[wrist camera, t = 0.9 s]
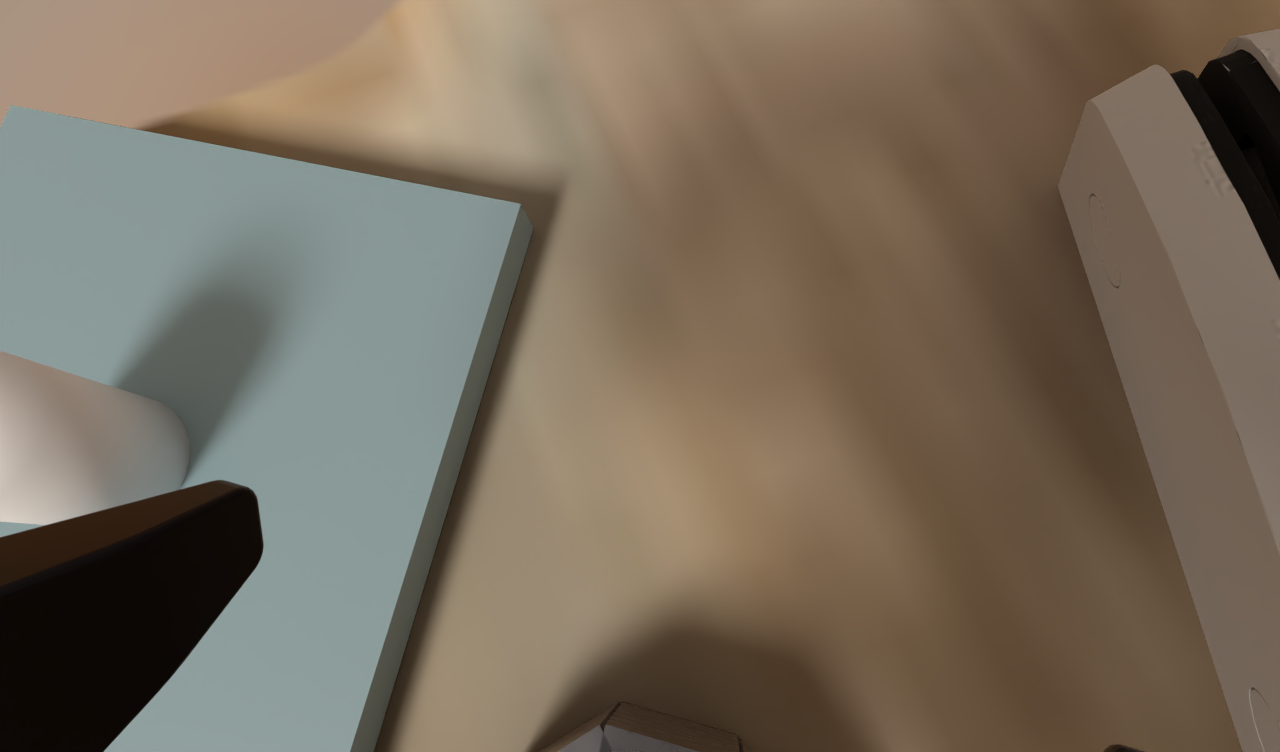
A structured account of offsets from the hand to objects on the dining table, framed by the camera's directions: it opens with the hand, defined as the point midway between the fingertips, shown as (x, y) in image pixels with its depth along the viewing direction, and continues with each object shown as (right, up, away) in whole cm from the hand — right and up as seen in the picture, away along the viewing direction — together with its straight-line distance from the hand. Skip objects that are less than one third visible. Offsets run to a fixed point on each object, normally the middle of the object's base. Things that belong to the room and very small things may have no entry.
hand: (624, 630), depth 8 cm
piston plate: (-13, 0, +13) cm, 19 cm away
